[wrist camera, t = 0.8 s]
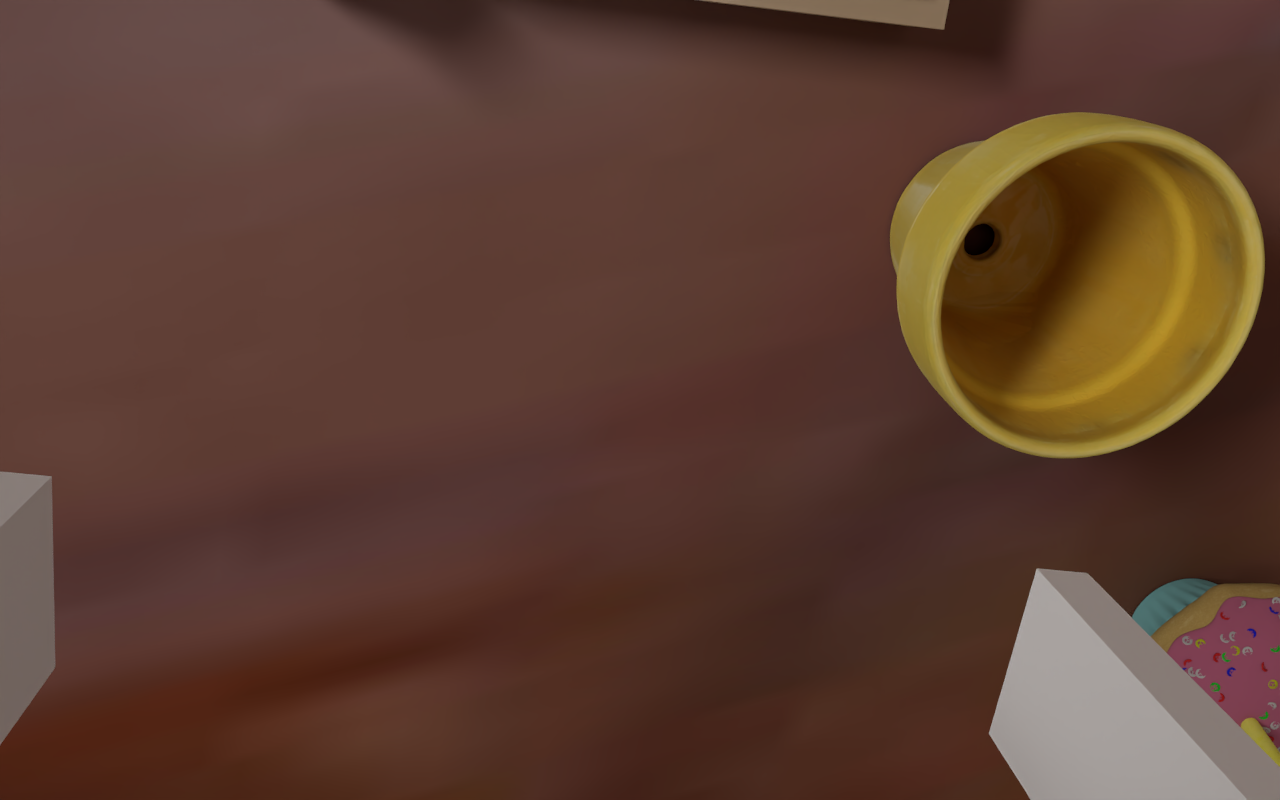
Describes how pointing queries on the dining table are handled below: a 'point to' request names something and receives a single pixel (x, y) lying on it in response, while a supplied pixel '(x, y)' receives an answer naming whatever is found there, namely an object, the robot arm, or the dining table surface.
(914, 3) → the plinth
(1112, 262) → the plant pot
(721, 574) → the dining table surface
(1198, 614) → the cupcake
